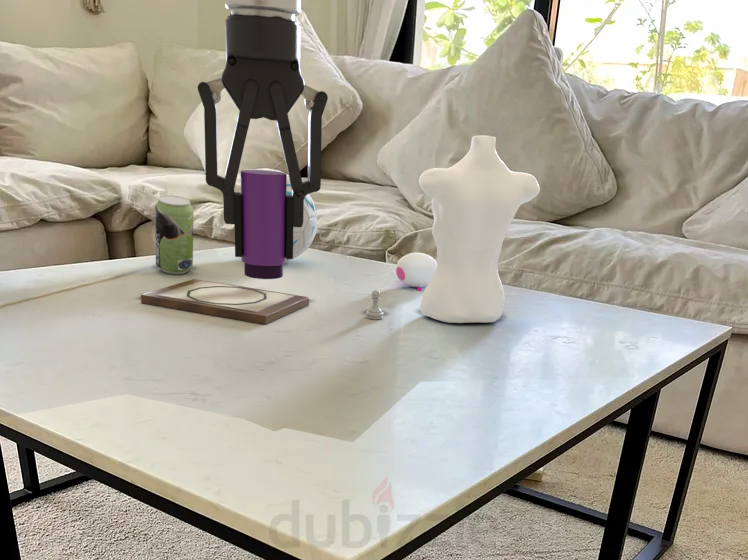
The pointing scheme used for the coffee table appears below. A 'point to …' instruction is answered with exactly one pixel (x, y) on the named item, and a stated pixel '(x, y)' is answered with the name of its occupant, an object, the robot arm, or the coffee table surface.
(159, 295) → the drawing board
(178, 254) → the beverage can
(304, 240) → the puzzle ball
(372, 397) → the coffee table surface
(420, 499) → the coffee table surface
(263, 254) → the dot marker
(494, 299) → the torso sculpture
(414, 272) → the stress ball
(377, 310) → the pawn
